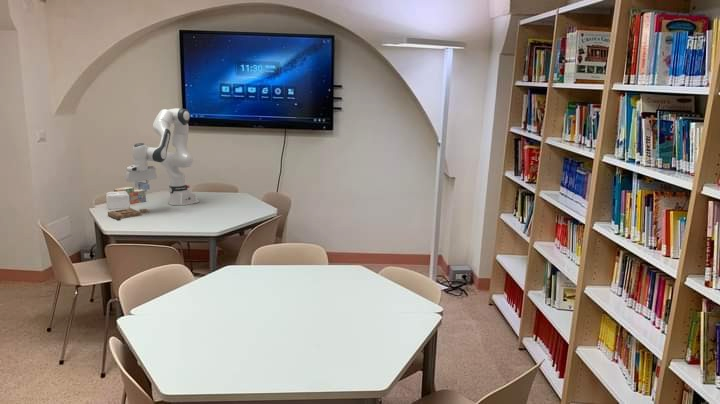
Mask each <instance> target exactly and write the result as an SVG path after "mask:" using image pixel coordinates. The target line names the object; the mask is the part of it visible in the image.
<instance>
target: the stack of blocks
mask: <svg viewBox="0 0 720 404" xmlns="http://www.w3.org/2000/svg"><path fill="white" fill-rule="evenodd" d="M121 191H125V192H127V194H128V195H129V201H130V205H135V204H140V203H145V202H147V195H146V194H147V193H146V192H144V190H143V189H141V190H138V189H135V188H134V187H131V186H126V187H120V188H119V187H118V188H114V189H113V192H121Z"/></svg>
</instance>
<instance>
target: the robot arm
mask: <svg viewBox="0 0 720 404" xmlns="http://www.w3.org/2000/svg"><path fill="white" fill-rule="evenodd" d="M190 116H191V114H190V111H189V110H188V109H186V108H178V107H175V108H166V109H165V108H163V109H160V111H159V112H158V114H157V115H156V117H155V119H154V121H153V124H152V129H153V132H155V133H156V134H157V135H158V136H160V138H161V139H160V141H159V145H158V146H157V147H154V146H153V147H151V146H148V145H146V144H145V143H144V142H138V143H135V144H133V147H132V159H133V164H132V165H129V166H127V167H126V172H125V181H126V182H129V183H134V185H135V184H136V185H137V187H140V185H139V184H138V182H140V181H141V182H143V181H145V183H147V184H149V182H150V180H156V179H157V169H156V167H155V165H148V162H156V163H159V164H161V165H162V167H164V168H165V169H166V172H167V174H168V178H169V179H168V181H169V185H168V186H169V187H168V188H169V189H168V190H169V200H168V204H169V205H170V206H187V205H188V206H189V205H192V204H196V203H200V200H199V199H197V197H196V194H195V193H193V192H192V191H191V190H190V187H191V185H187V184H186V178H185V177H186V176H185V174H184V173H183V172H182V171H181V170H180V168H181V169H183V168H184V169H185V168H189V167H192V165H193V163H194V162H193V161H194V159H193V156H192V155H191V153H189V151H188V138H189V131H190V130H189V129H190V128H189V122H190V118H191V117H190ZM172 124H173V125H174V128H173V131H172V133H171V131H170V127H171V125H172ZM171 134H172V136H171ZM170 140H171V143H170ZM169 144H171V145H172V147H174V148H175V152H172V151H170V152H169V151H168V148H169ZM137 187H136V188H137Z"/></svg>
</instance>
